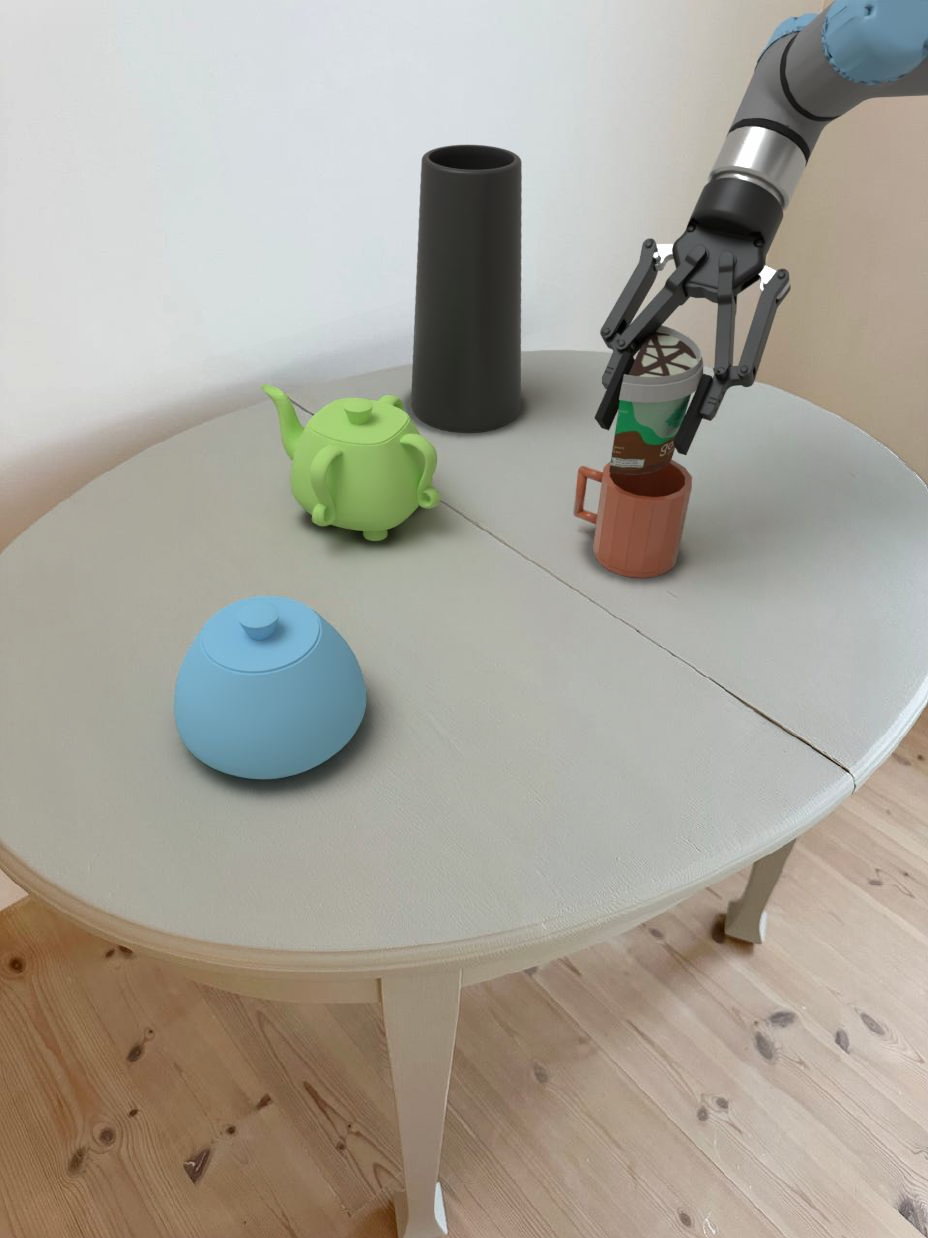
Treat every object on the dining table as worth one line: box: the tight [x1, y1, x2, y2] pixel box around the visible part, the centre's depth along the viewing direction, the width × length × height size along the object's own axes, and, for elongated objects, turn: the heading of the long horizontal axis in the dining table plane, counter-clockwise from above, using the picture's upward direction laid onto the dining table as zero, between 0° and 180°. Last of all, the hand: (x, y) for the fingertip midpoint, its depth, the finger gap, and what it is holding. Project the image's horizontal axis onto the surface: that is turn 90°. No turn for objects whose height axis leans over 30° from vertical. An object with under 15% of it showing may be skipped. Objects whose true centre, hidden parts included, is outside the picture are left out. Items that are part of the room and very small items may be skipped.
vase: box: [410, 144, 523, 433], centre depth 110 cm, size 14×14×29 cm
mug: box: [572, 459, 693, 579], centre depth 94 cm, size 11×8×9 cm
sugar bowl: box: [173, 595, 367, 780], centre depth 74 cm, size 15×15×12 cm
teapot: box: [260, 384, 441, 542], centre depth 97 cm, size 16×14×13 cm
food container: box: [609, 324, 704, 474], centre depth 86 cm, size 12×6×10 cm, turn 161°
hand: (640, 436), depth 85 cm, fingers closed on food container, 7 cm apart
